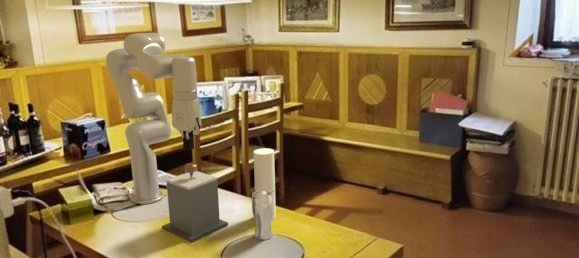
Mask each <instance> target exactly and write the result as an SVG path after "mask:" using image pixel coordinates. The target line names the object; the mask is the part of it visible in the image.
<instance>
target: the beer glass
mask: <svg viewBox="0 0 579 258" xmlns="http://www.w3.org/2000/svg"><path fill="white" fill-rule="evenodd" d="M251 212H252V217H253V221H254V228H255V229H254V238H255V239H257V240H260V241H266V240H270V239H271V238H273V230H272V221H273V220H272V215H273V198H272V192H270V191H267V190H259V191H255V190H254V191H253V192H252V193H251Z"/></svg>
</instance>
